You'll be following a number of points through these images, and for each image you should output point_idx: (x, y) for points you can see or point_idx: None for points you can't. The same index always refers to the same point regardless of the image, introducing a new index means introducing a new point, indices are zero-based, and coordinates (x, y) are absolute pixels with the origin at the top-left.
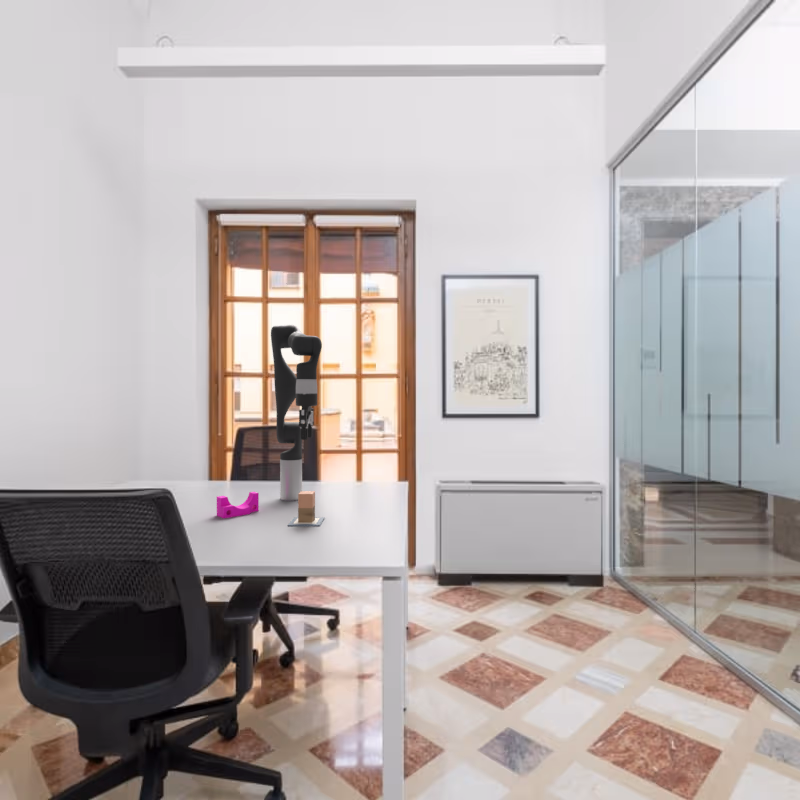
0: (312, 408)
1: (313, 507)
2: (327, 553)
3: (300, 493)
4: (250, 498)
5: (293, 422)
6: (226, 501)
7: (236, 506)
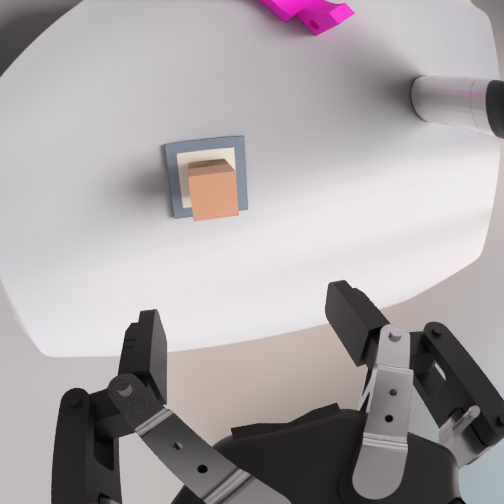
0: (471, 462)
1: None
2: (36, 278)
3: (195, 181)
4: (325, 9)
5: None
6: None
7: None
